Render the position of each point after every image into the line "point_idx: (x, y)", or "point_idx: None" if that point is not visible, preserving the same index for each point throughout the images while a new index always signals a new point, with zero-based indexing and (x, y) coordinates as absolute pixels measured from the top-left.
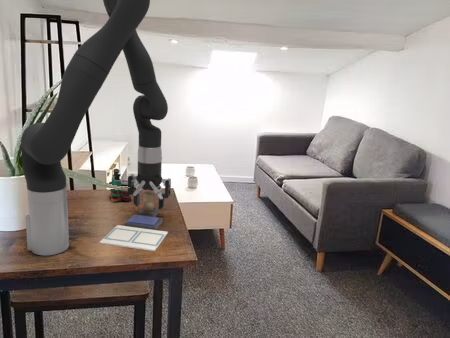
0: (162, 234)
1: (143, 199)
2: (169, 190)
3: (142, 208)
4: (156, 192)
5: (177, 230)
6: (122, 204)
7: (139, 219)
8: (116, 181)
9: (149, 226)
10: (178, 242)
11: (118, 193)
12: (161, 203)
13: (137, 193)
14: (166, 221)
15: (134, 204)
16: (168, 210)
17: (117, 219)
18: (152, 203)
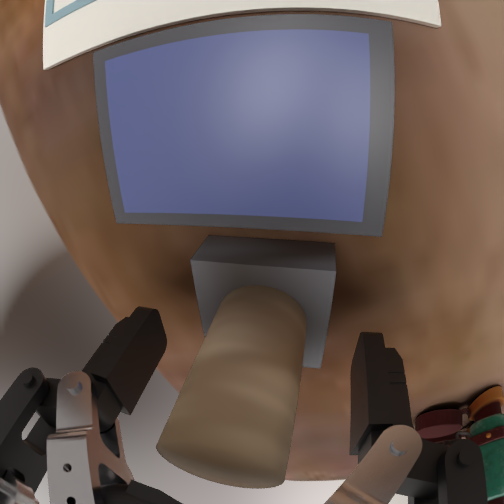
0: (52, 17)
1: (290, 397)
2: (32, 436)
3: (320, 336)
4: (74, 440)
5: (29, 129)
6: (456, 382)
7: (269, 113)
8: (501, 489)
9: (137, 38)
10: (4, 22)
11: (483, 432)
12: (112, 347)
13: (364, 461)
14: (116, 224)
15: (391, 349)
16: (188, 364)
17: (481, 166)
18: (196, 357)
